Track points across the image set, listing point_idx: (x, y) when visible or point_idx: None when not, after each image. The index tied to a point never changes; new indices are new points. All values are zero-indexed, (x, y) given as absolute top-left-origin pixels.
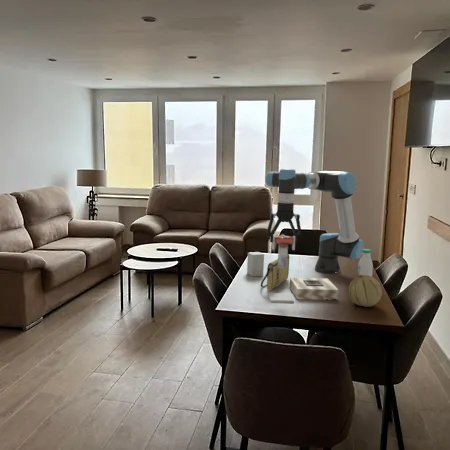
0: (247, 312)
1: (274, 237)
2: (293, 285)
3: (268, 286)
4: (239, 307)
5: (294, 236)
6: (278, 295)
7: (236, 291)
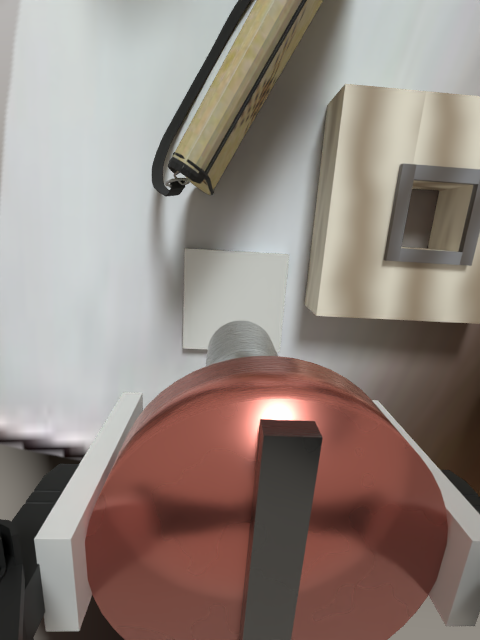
0: (83, 449)
1: (82, 601)
2: (325, 210)
3: (195, 184)
4: (53, 404)
5: (471, 603)
6: (228, 286)
7: (33, 193)
